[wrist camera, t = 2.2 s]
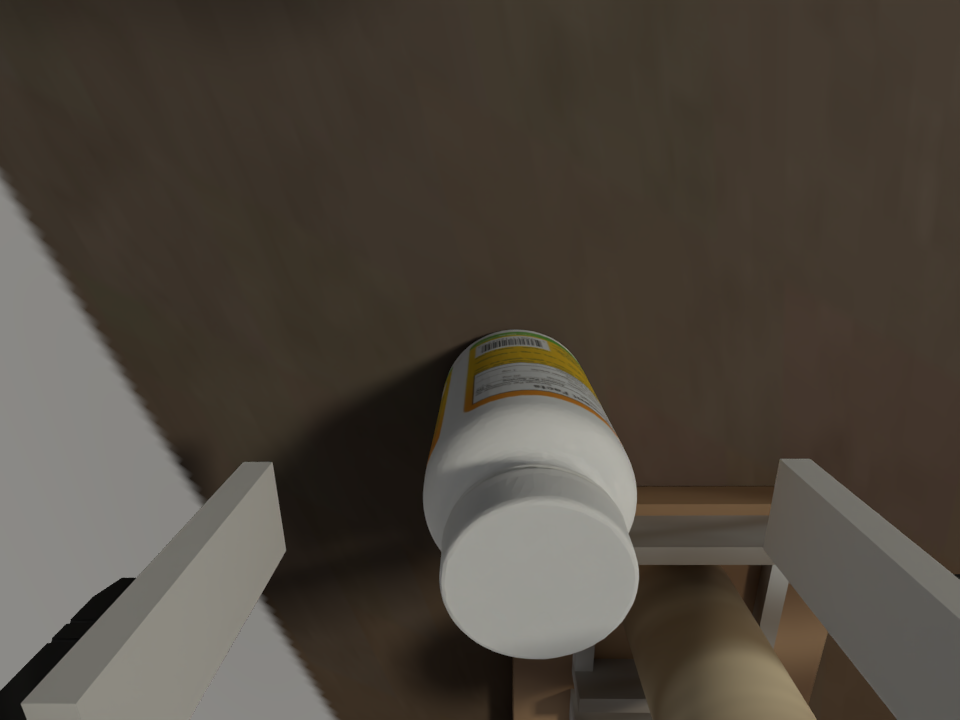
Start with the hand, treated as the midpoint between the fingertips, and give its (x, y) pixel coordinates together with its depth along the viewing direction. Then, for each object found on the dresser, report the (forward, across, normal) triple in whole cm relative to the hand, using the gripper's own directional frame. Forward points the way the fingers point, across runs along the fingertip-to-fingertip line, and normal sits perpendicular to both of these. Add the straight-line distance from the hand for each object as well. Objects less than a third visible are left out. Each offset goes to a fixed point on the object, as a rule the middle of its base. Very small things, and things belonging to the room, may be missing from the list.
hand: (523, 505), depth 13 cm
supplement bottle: (+7, 0, +1) cm, 7 cm away
